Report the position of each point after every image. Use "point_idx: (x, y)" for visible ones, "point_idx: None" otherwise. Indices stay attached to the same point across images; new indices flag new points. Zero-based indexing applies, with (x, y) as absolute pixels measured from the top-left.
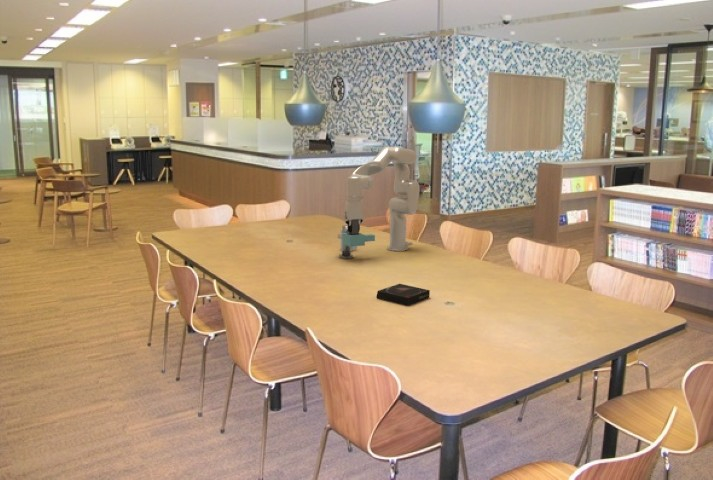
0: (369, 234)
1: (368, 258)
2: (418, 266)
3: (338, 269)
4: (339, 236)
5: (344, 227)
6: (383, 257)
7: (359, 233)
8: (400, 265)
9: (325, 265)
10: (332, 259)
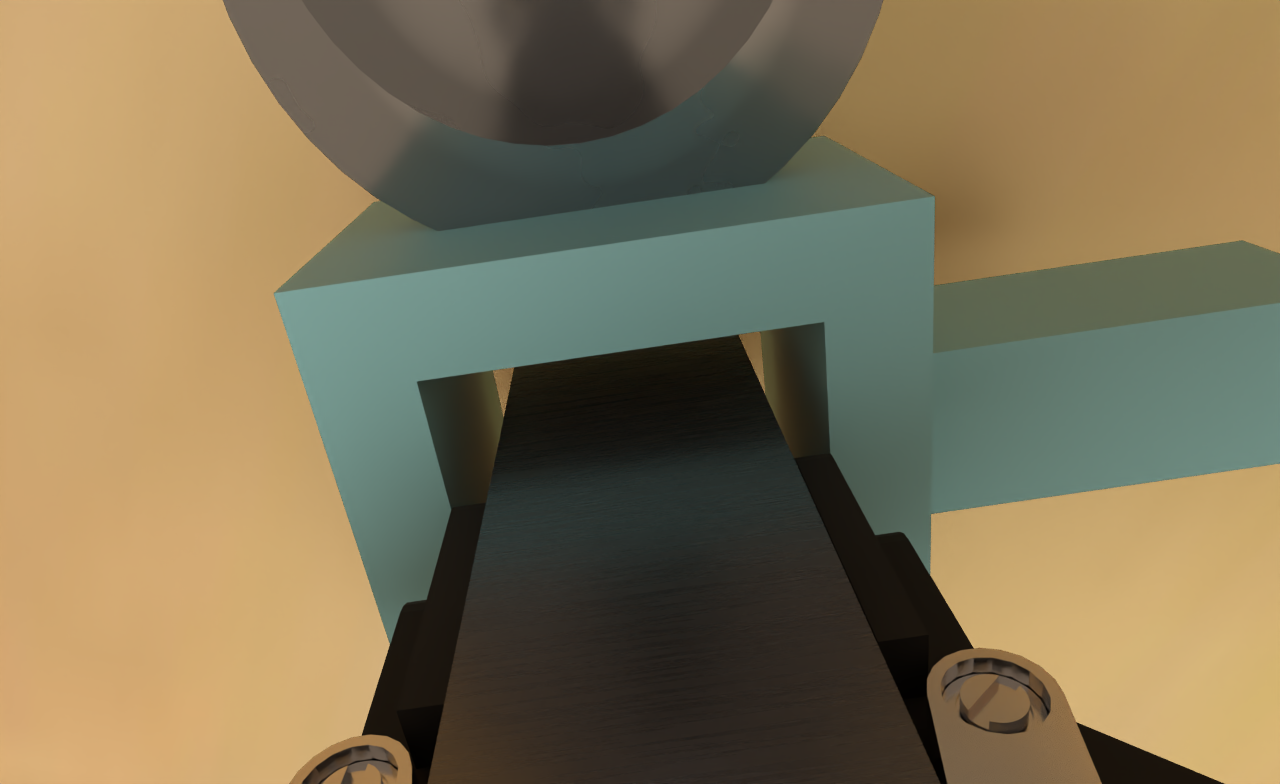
0: (1270, 310)
1: (931, 188)
2: (1264, 750)
3: (264, 687)
4: (246, 46)
5: (365, 55)
6: (1208, 187)
7: (871, 495)
8: (1109, 675)
9: (92, 461)
10: (258, 78)
